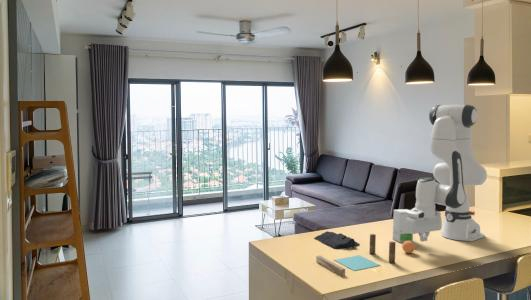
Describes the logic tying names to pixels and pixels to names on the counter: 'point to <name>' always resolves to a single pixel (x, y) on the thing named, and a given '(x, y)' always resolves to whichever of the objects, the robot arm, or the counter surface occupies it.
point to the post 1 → (372, 244)
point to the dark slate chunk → (336, 240)
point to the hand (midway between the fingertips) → (423, 241)
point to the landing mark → (356, 262)
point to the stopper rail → (330, 265)
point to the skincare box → (401, 226)
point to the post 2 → (392, 252)
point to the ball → (408, 246)
